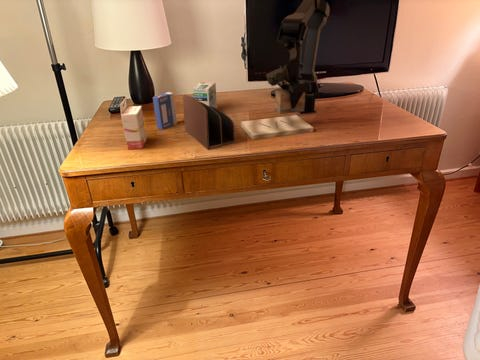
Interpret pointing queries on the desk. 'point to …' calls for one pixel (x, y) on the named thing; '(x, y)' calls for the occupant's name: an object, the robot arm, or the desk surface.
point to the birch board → (276, 127)
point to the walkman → (165, 110)
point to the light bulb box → (205, 93)
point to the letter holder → (207, 124)
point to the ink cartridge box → (133, 125)
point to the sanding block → (288, 103)
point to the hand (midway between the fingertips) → (290, 106)
